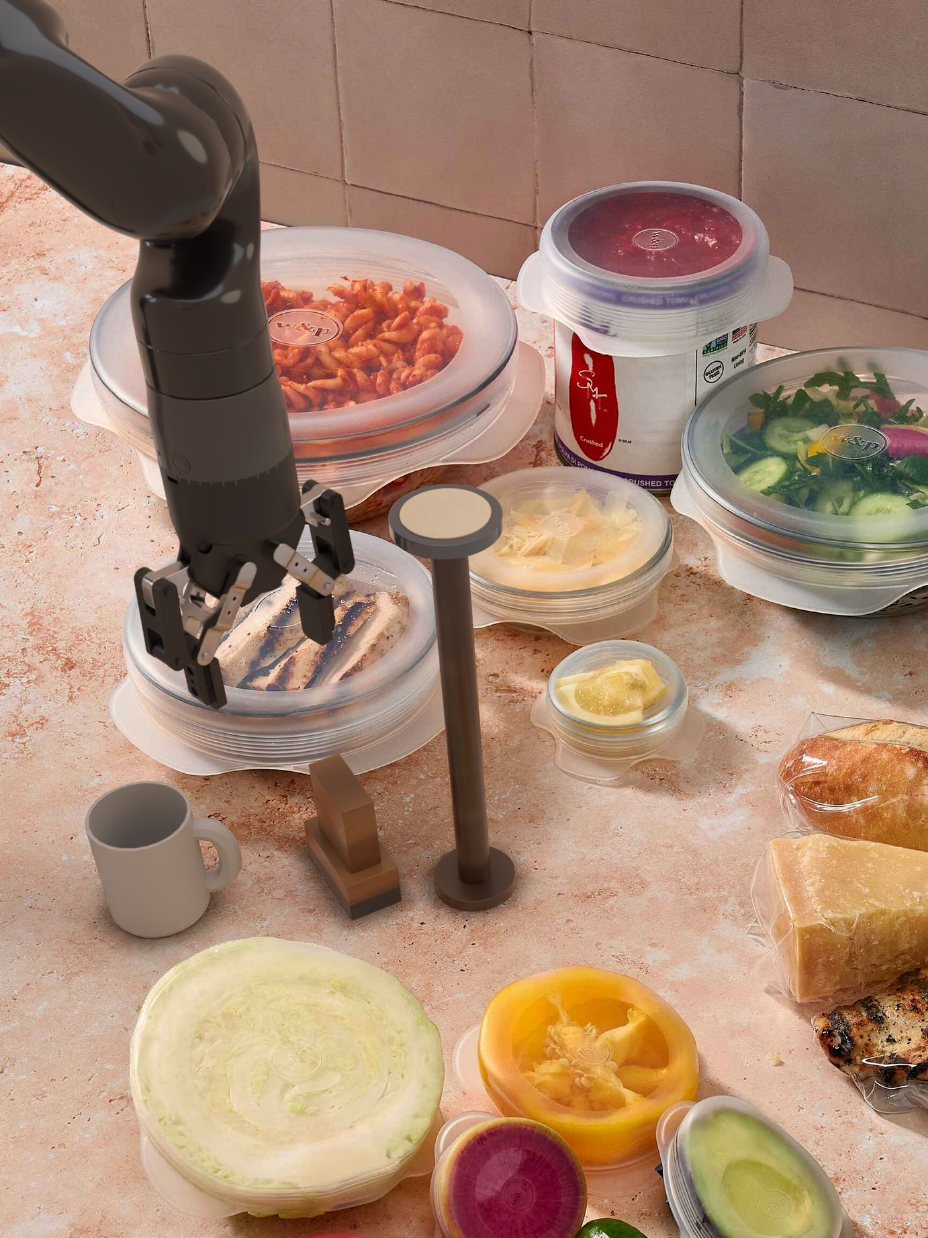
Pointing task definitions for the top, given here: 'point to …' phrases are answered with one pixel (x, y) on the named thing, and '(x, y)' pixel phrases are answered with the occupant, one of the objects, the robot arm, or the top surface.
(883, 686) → the top surface
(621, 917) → the top surface
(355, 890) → the brush
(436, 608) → the stand
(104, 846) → the cup
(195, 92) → the robot arm
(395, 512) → the plate
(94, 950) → the top surface
